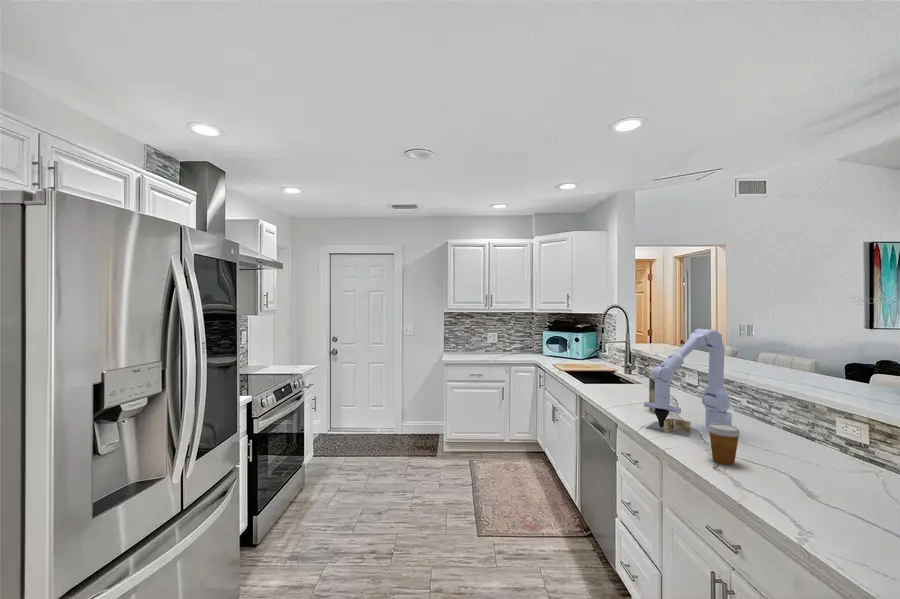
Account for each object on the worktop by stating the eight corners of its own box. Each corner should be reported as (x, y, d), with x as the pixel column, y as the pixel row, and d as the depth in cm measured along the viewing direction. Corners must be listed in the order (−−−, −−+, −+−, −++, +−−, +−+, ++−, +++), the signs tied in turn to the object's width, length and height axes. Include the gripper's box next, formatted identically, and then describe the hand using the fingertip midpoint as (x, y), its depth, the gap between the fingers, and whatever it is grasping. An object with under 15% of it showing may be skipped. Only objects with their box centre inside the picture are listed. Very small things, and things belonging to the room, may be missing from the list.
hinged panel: (670, 427, 186) (670, 417, 186) (674, 427, 184) (674, 417, 184) (663, 430, 180) (663, 420, 180) (667, 431, 178) (667, 421, 178)
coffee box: (648, 409, 220) (648, 378, 220) (661, 410, 218) (662, 379, 218) (653, 414, 211) (653, 381, 211) (667, 415, 209) (667, 382, 209)
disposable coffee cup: (737, 459, 150) (737, 425, 150) (742, 468, 141) (743, 432, 141) (705, 455, 154) (706, 421, 154) (709, 463, 145) (709, 428, 145)
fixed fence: (690, 431, 180) (690, 421, 180) (689, 432, 179) (689, 422, 179) (675, 428, 184) (675, 418, 184) (674, 429, 183) (674, 419, 183)
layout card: (697, 430, 184) (697, 429, 184) (688, 438, 173) (688, 436, 173) (655, 422, 195) (655, 421, 195) (644, 429, 184) (644, 428, 184)
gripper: (640, 393, 185) (640, 424, 184) (676, 399, 174) (675, 432, 174) (648, 391, 189) (647, 421, 189) (683, 397, 178) (682, 429, 178)
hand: (661, 426), depth 182 cm, fingers closed
